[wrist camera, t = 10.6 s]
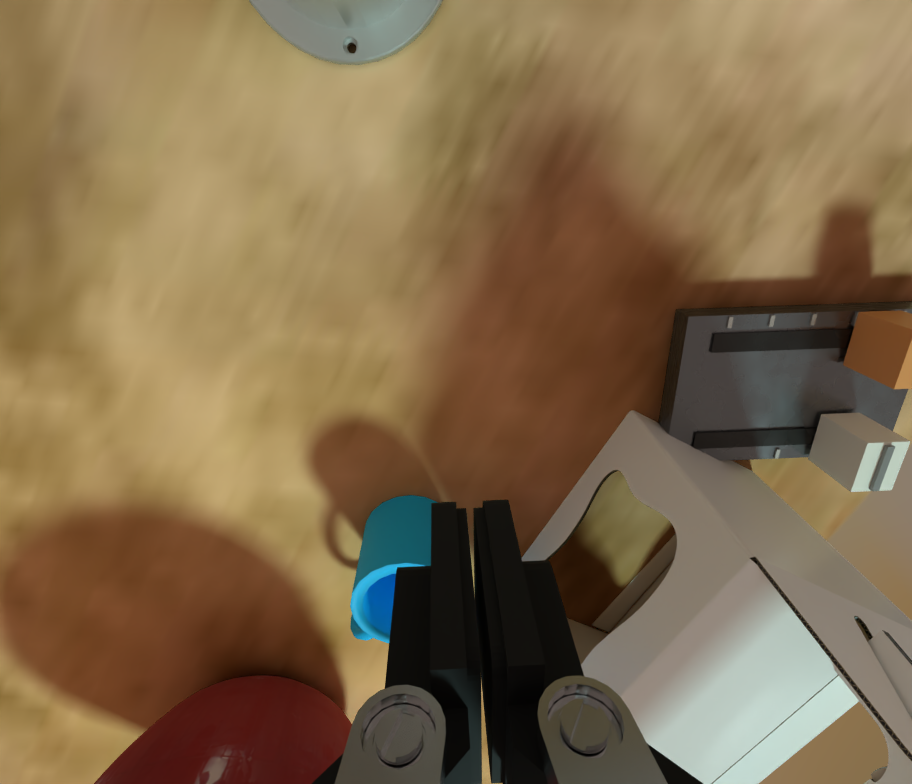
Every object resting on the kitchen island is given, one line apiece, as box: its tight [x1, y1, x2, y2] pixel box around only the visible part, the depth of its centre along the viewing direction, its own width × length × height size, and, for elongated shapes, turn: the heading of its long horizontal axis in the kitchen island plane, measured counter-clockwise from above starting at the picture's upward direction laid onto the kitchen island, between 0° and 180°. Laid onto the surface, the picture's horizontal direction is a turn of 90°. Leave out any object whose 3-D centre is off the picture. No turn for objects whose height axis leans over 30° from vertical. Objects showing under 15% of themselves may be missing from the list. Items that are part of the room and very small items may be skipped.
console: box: [659, 301, 912, 461], centre depth 39 cm, size 12×18×2 cm, turn 91°
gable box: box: [521, 410, 912, 784], centre depth 33 cm, size 22×13×28 cm, turn 152°
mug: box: [350, 495, 438, 643], centre depth 41 cm, size 12×8×8 cm
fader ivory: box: [808, 413, 910, 492], centre depth 37 cm, size 4×3×5 cm
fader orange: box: [843, 310, 912, 389], centre depth 34 cm, size 4×3×5 cm
